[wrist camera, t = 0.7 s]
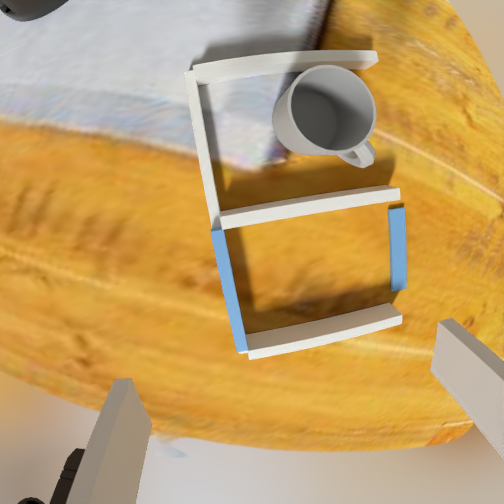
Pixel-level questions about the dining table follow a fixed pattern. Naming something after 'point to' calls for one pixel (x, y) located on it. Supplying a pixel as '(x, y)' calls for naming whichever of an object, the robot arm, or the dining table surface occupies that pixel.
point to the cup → (327, 115)
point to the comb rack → (292, 210)
